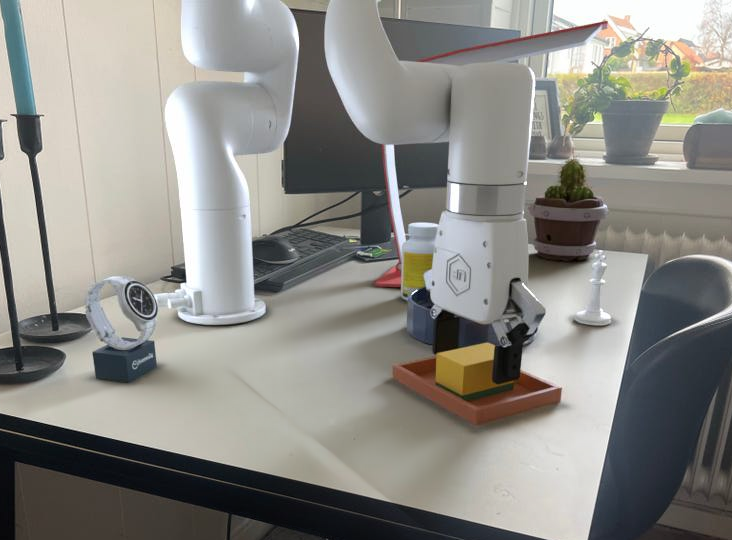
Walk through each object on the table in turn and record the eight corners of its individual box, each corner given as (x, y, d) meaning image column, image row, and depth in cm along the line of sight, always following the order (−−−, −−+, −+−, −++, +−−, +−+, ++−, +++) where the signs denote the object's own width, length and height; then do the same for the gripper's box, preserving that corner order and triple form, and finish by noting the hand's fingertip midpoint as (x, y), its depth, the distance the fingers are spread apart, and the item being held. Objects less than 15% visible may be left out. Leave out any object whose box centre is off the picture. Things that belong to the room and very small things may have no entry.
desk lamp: (575, 304, 109) (608, 17, 95) (339, 284, 120) (338, 25, 106) (578, 278, 125) (606, 29, 111) (369, 263, 136) (372, 35, 122)
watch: (144, 385, 77) (133, 287, 74) (82, 376, 80) (69, 281, 76) (171, 367, 82) (163, 275, 79) (113, 360, 85) (102, 270, 81)
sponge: (461, 403, 72) (464, 366, 70) (434, 388, 75) (436, 353, 74) (513, 389, 75) (516, 354, 74) (485, 376, 79) (487, 342, 77)
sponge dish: (475, 429, 67) (477, 410, 66) (391, 381, 78) (392, 364, 78) (560, 405, 72) (562, 387, 72) (470, 363, 84) (471, 348, 83)
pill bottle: (439, 305, 108) (443, 229, 104) (397, 303, 109) (399, 227, 105) (443, 294, 114) (446, 222, 110) (403, 292, 115) (405, 220, 111)
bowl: (461, 364, 84) (463, 324, 82) (382, 327, 97) (382, 292, 96) (563, 341, 92) (567, 304, 90) (477, 310, 105) (479, 277, 104)
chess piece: (592, 327, 97) (601, 255, 94) (567, 318, 101) (574, 249, 98) (618, 322, 99) (628, 252, 96) (592, 314, 104) (600, 246, 100)
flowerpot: (597, 267, 133) (611, 156, 126) (516, 259, 139) (525, 154, 132) (607, 253, 145) (620, 152, 139) (532, 247, 152) (541, 149, 145)
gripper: (402, 193, 74) (398, 348, 80) (519, 215, 60) (503, 401, 66) (458, 189, 77) (450, 338, 83) (581, 209, 63) (561, 386, 69)
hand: (473, 366), depth 74 cm, fingers open, 9 cm apart
